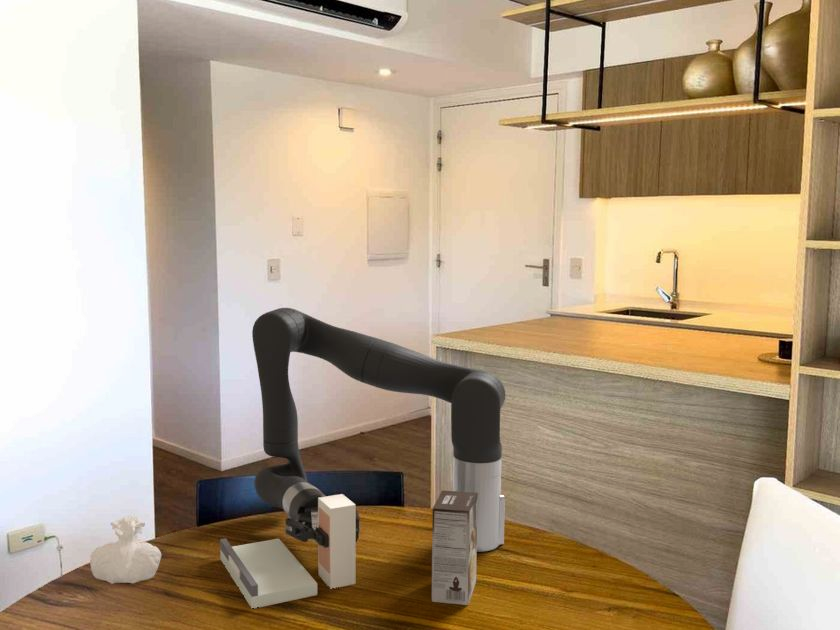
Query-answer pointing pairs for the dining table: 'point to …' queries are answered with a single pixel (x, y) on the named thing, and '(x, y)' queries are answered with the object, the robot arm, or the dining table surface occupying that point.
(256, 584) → the shelf board
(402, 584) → the dining table surface
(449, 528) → the coffee box
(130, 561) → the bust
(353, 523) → the carton
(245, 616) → the dining table surface
